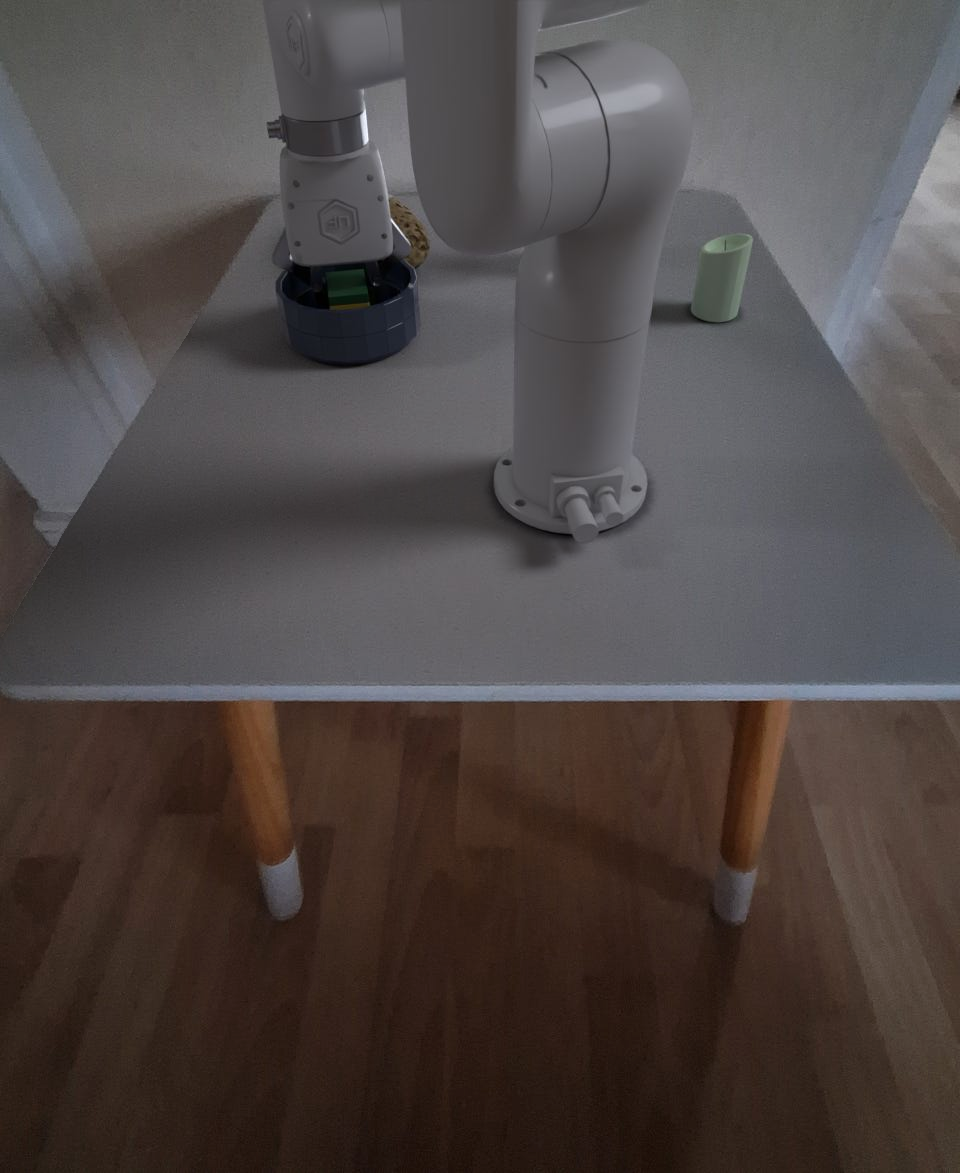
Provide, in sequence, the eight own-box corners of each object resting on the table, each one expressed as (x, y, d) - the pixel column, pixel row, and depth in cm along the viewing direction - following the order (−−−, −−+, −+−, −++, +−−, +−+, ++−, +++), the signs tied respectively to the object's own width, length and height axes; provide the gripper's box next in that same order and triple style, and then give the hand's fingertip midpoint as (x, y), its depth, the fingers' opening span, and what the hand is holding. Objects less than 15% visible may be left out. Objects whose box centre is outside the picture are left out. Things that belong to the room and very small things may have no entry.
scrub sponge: (372, 333, 88) (368, 293, 85) (334, 337, 87) (328, 297, 84) (368, 308, 92) (363, 268, 89) (331, 311, 91) (325, 272, 88)
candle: (686, 318, 91) (699, 242, 85) (694, 298, 94) (707, 224, 88) (733, 326, 89) (749, 249, 84) (740, 305, 93) (756, 230, 87)
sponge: (319, 237, 111) (312, 270, 94) (321, 172, 107) (315, 194, 90) (418, 250, 113) (429, 284, 96) (424, 187, 109) (437, 211, 92)
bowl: (428, 360, 85) (424, 304, 81) (286, 375, 84) (275, 318, 79) (412, 298, 95) (408, 245, 91) (285, 310, 94) (275, 256, 89)
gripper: (231, 152, 73) (271, 345, 86) (422, 138, 75) (434, 329, 88) (234, 126, 78) (271, 311, 91) (412, 113, 80) (424, 297, 93)
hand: (351, 318), depth 89 cm, fingers closed on scrub sponge, 4 cm apart
